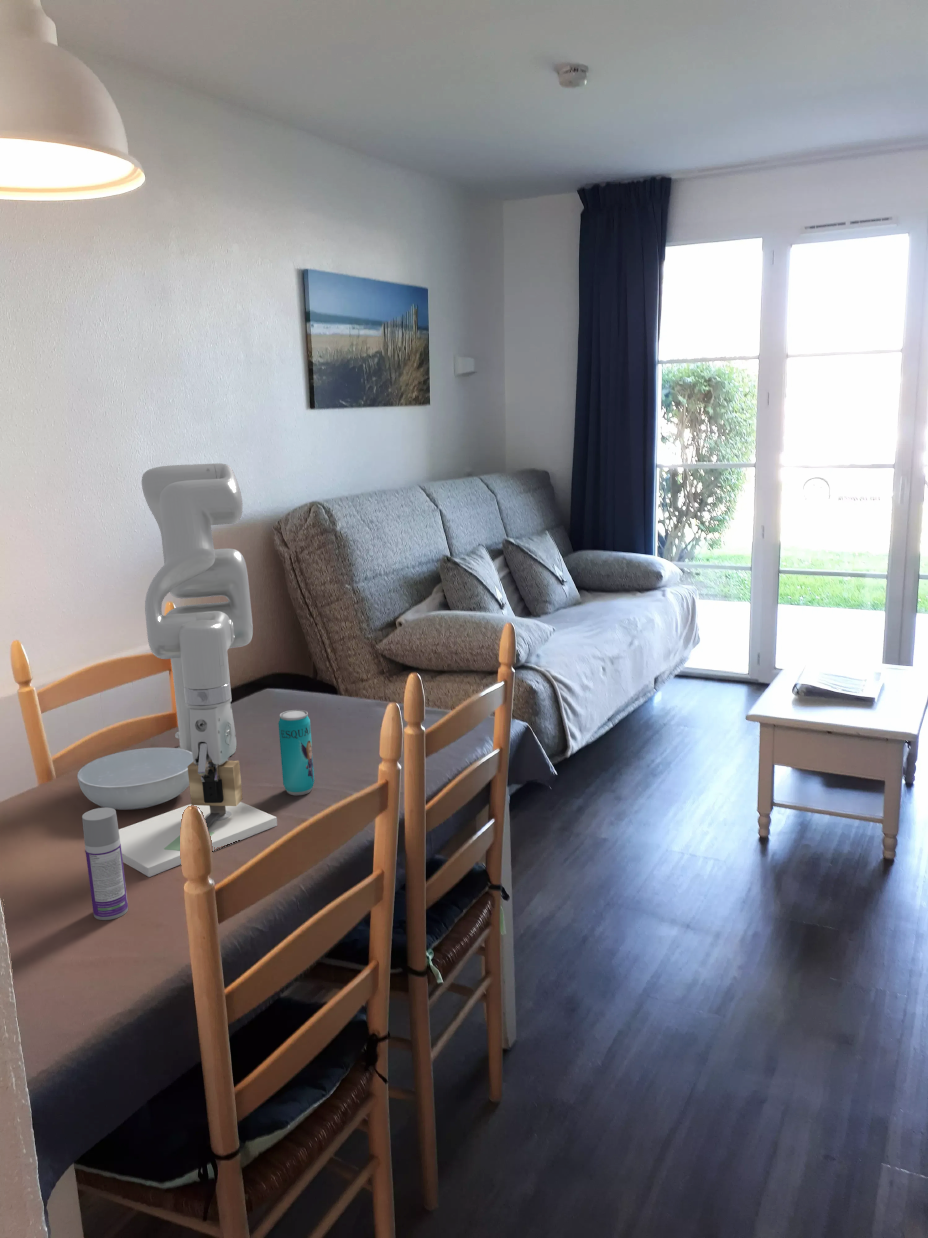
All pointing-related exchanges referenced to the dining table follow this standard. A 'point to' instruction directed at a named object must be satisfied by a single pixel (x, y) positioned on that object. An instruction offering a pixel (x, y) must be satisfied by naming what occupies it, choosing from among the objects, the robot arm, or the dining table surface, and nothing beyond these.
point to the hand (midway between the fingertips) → (217, 796)
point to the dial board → (159, 837)
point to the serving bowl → (136, 777)
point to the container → (105, 863)
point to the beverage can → (296, 752)
